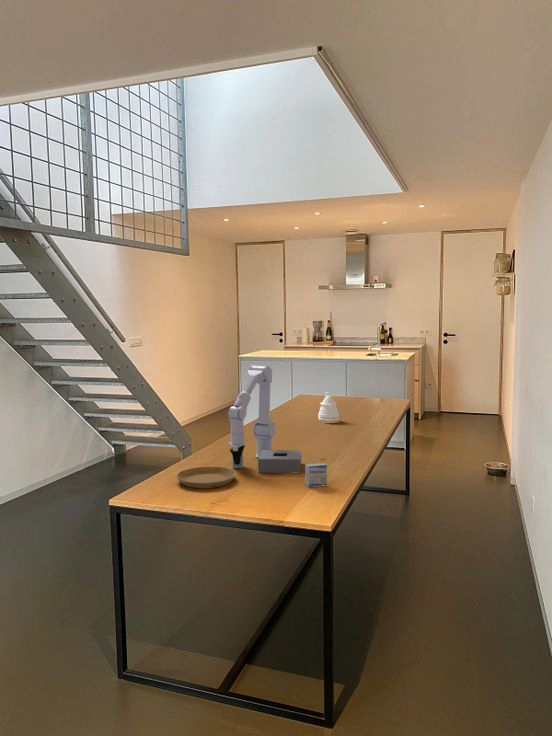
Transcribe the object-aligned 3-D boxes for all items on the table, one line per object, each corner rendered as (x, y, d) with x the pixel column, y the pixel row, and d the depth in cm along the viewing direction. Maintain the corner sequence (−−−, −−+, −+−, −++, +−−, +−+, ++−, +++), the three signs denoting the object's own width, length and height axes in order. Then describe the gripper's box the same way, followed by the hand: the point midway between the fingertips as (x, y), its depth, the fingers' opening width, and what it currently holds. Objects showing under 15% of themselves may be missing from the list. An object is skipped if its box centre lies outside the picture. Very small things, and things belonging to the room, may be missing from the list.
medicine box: (308, 488, 226) (308, 466, 225) (304, 484, 230) (304, 463, 230) (327, 486, 228) (327, 464, 227) (323, 483, 233) (323, 462, 232)
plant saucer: (207, 470, 254) (207, 462, 253) (248, 480, 238) (247, 472, 238) (164, 483, 235) (164, 475, 235) (205, 495, 220) (205, 486, 220)
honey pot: (314, 421, 360) (314, 392, 358) (332, 419, 365) (332, 391, 363) (324, 424, 348) (324, 395, 346) (342, 422, 354) (343, 393, 352)
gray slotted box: (261, 462, 264) (261, 449, 263) (301, 463, 263) (301, 450, 262) (258, 472, 248) (258, 458, 248) (299, 473, 247) (299, 459, 246)
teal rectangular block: (234, 465, 259) (233, 455, 258) (242, 466, 259) (242, 455, 258) (232, 468, 255) (232, 457, 254) (241, 468, 255) (241, 457, 254)
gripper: (230, 429, 263) (231, 458, 264) (225, 436, 248) (226, 467, 250) (246, 429, 262) (246, 458, 264) (241, 436, 248) (242, 467, 249)
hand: (237, 463), depth 257 cm, fingers closed on teal rectangular block, 4 cm apart
